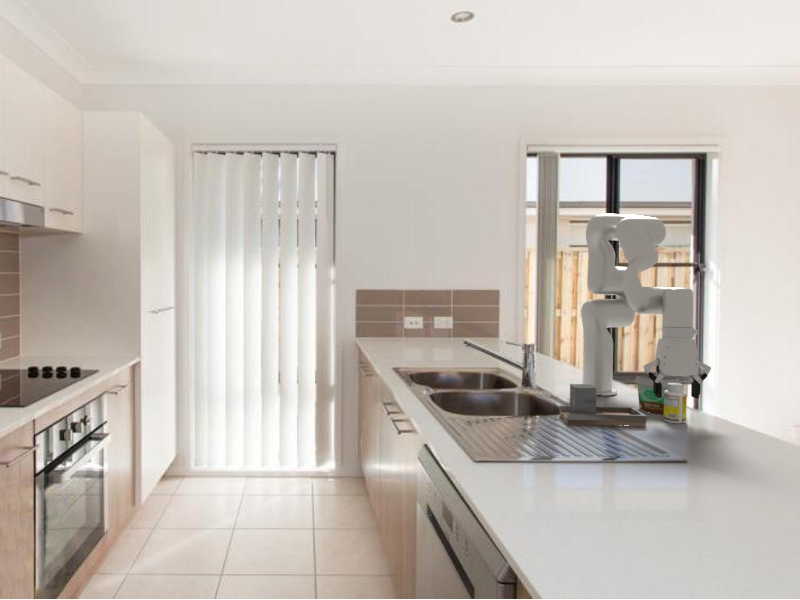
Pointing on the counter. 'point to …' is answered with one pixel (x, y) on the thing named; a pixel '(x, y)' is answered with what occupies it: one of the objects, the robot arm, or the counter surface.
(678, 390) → the supplement bottle
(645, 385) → the food container
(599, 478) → the counter surface
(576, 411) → the wooden tray
